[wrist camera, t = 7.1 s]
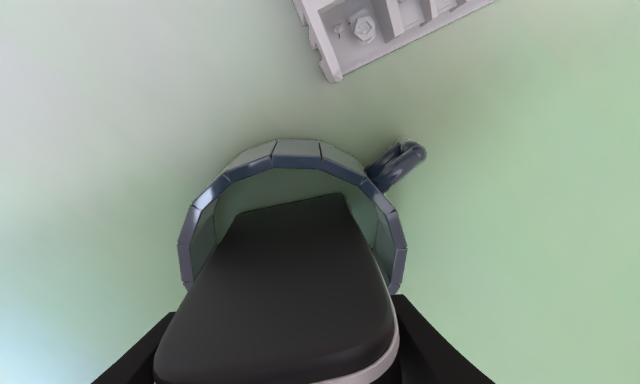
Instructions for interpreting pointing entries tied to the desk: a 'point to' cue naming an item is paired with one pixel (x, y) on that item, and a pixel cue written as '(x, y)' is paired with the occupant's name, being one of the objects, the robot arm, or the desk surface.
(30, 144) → the desk surface
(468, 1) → the power supply unit
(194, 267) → the gray segmented ring
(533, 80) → the desk surface
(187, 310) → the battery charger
